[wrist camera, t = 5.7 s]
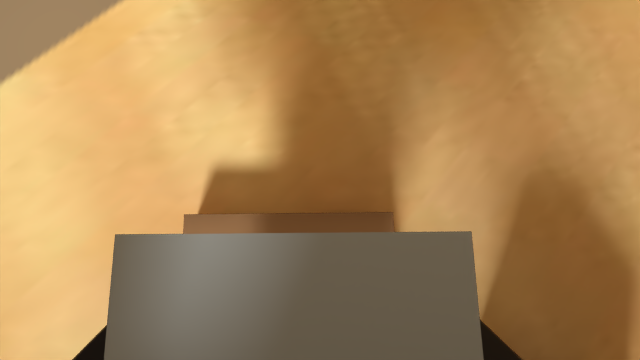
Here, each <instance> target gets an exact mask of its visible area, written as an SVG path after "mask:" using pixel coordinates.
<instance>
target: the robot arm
mask: <svg viewBox="0 0 640 360" xmlns="http://www.w3.org/2000/svg"><path fill="white" fill-rule="evenodd" d="M480 327H481V338H482V348H483V359H484V360H522V359H521V358H520V357H519V356H518V355H517V354H516V353H515V352H514V351H513V350H512V349H510V348H509V347H508V346H507V345H506V344H505V343H504V342H503V341H502V340H501V339H500V338H499V337H498V336H497V335H496V334H495V333H494V332H493V331H492V330H491V329H489V328H488V327H487V326H486V325H485V324H484V323H483V322H482V321H481V320H480ZM106 330H107V325H106V326H105V327H104V328H103V329H102V330H101V331H100V332H99V333H98V334H97V335H96V336H95V337H94V338H93V339H92V340H91V341H90V342H89V343H88V344H87V345H86V346H85V347H84V348H83V349H82V350H81V351H80V352H79V353H78V354H77V355H76V356H75V357H74V358H73V359H72V360H104V352H105V341H106Z"/></svg>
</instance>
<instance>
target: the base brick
mask: <svg viewBox="0 0 640 360" xmlns="http://www.w3.org/2000/svg"><path fill="white" fill-rule="evenodd" d="M351 232H394V221H393V212H370V213H276V214H184V229H183V234H234V233H351Z"/></svg>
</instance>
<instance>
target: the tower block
mask: <svg viewBox="0 0 640 360" xmlns="http://www.w3.org/2000/svg"><path fill="white" fill-rule="evenodd" d="M104 360H484V359H483V348H482V338H481V327H480V317H479V306H478V295H477V285H476V274H475V264H474V253H473V243H472V232H471V231H468V232H351V233H234V234H117V235H115V242H114V253H113V264H112V275H111V286H110V297H109V308H108V319H107V330H106V341H105V352H104Z"/></svg>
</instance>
